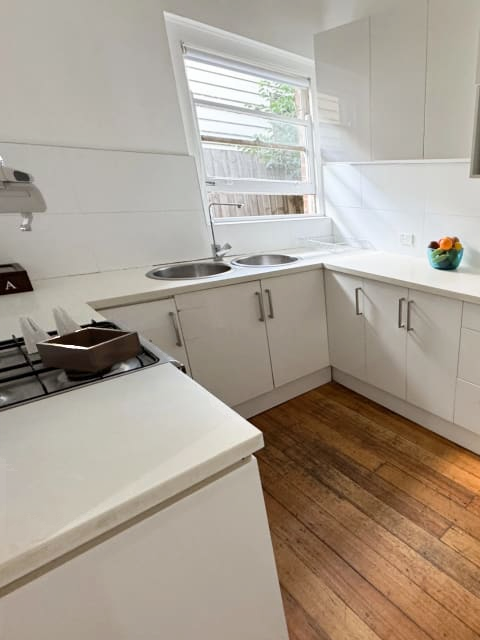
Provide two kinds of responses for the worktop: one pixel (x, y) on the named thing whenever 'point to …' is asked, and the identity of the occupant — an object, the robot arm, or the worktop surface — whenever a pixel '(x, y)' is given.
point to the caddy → (89, 349)
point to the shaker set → (37, 334)
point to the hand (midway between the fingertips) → (4, 232)
